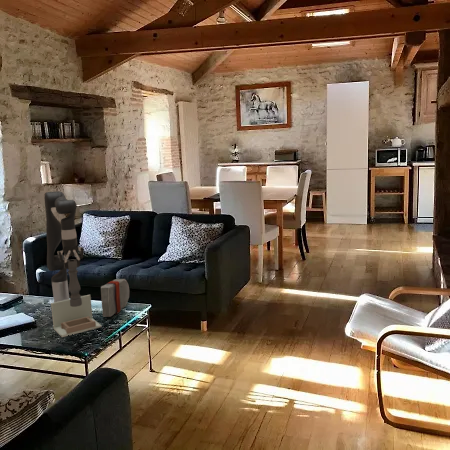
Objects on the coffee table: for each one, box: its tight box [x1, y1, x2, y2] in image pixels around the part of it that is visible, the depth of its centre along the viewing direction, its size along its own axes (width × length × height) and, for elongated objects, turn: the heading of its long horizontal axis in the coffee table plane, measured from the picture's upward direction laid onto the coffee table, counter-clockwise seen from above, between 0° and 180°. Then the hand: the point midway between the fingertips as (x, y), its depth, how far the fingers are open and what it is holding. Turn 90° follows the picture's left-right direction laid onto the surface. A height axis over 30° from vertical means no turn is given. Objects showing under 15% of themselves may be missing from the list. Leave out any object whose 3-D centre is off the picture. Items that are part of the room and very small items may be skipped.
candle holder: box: [67, 258, 82, 307], centre depth 277 cm, size 6×6×25 cm
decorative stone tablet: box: [100, 278, 130, 318], centre depth 306 cm, size 19×6×30 cm
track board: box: [50, 294, 102, 338], centre depth 282 cm, size 15×22×15 cm
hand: (72, 267), depth 276 cm, fingers closed on candle holder, 5 cm apart
